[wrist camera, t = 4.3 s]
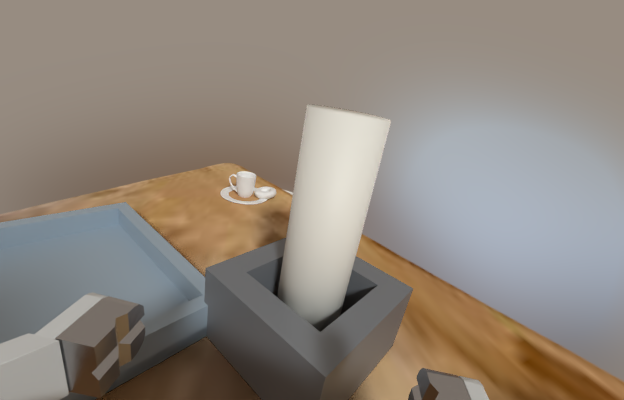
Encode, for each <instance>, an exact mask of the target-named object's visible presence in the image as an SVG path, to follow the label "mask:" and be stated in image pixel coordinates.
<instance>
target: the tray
mask: <svg viewBox="0 0 624 400" xmlns="http://www.w3.org/2000/svg"><path fill="white" fill-rule="evenodd" d="M92 292H93V293H97V294H101V295H105V296H110V297H114V298H118V299H121V300H125V301H129V302H133V303H137V304H140V305H143V306H144V314H145V315H144V316H143V317H142V318H141V319H140V320H141V322H142V323H143V324H144V326H145V337H144V341H143V343H142V345H141V347H140V349H139V351H138V353H137V354H136V355H135V357H134V358H133V359H132V361H130V362H128V363H126V364H124V365H123V366H121V367H120V376H119V377H118V378H117V379H116V381H115V382H114V383H113V384H112V386H111V387H110V388H109V389H108V391H107V392H109V391H111V390H112V389H114V388H116V387H118V386H120V385H121V384H123V383H125V382H127V381H128V380H130V379H132V378H134V377H135V376H137V375H139V374H141V373H142V372H144V371H146V370H148V369H149V368H151V367H153V366H155V365H156V364H158V363H160V362H162V361H164V360H165V359H167V358H169V357H171V356H172V355H174V354H176V353H178V352H179V351H181V350H183V349H185V348H186V347H188V346H190V345H192V344H193V343H195V342H197V341H199V340H201V339H202V338H204V337H206V335H207V315H208V305H207V304H206V303H205V302H204V297H205V277H204V276H203V275H202V274H201V273H200V272H199V271H198V270H197V269H196V268H195V267H193V266H192V265H191V264H190V263H189V262H188V261H187V260H186V259H185V258H184V257H183V256H182V255H181V254H180V253H179V252H178V251H177V250H176V249H174V248H173V247H172V246H171V245H170V244H169V243H168V242H167V241H166V240H165V239H164V238H163V237H162V236H161V235H160V234H159V233H158V232H157V231H155V230H154V229H153V228H152V227H151V226H150V225H149V224H148V223H147V222H146V221H145V220H144V219H143V218H142V217H141V216H140V215H139V214H138V213H136V212H135V211H134V210H133V209H132V208H131V207H130V206H129V205H128V204H127V203H126V202H124V203H118V204H112V205H106V206H100V207H93V208H87V209H81V210H75V211H69V212H63V213H57V214H50V215H44V216H38V217H32V218H26V219H20V220H14V221H7V222H1V223H0V344H1V343H3V342H6V341H9V340H12V339H14V338H17V337H20V336H22V335H25V334H28V333H30V334H35V333H37V332H38V331H39V330H40V329H42V328H43V327H44V326H46V325H47V324H48V323H49V322H51V321H52V320H53V319H55V318H56V317H57V316H58V315H60V314H61V313H62V312H64V311H65V310H66V309H67V308H69V307H70V306H71V305H73V304H74V303H75V302H77V301H78V300H79V299H80V298H82V297H83V296H84V295H86V294H89V293H92ZM107 392H106V393H107ZM95 399H97V397H92V396H87V395H82V394H78V393H73V392H69V394H68V395H67V396H65V397H64V398H62V399H60V400H95Z"/></svg>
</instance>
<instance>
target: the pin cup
mask: <svg viewBox="0 0 624 400" xmlns="http://www.w3.org/2000/svg"><path fill="white" fill-rule="evenodd" d="M285 243H286V238H284V239H281V240H279V241H276V242H273V243H271V244H268V245H265V246H263V247H260V248H258V249H255V250H252V251H250V252H247V253H244V254H242V255H239V256H236V257H234V258H231V259H229V260H226V261H223V262H221V263H218V264H215V265H213V266H210V267H208V268H206V274H205V297H204V302H205V303H206V304H207V305H208V315H207V335H206V336H207V337H208V339H209V340H210V341H211V342H212V343H213V344H214V345H215V347H216V348H217V349H218V350H219V351H220V352H221V353H222V355H223V356H224V357H225V358H226V359H227V360H228V362H229V363H230V364H231V365H232V366H233V367H234V368H235V370H236V371H237V372H238V373H239V374H240V375H241V376H242V378H243V379H244V380H245V381H246V382H247V383H248V385H249V386H250V387H251V388H252V389H253V390H254V391H255V393H256V394H257V395H258V396H259V397H260V398H261V399H262V400H348V399H349V398H350V397H351V396H352V394H353V393H354V392H355V391H356V390H357V388H358V387H359V386H360V385H361V384H362V382H363V381H364V380H365V379H366V377H367V376H368V375H369V374H370V373H371V371H372V370H373V369H374V368H375V366H376V365H377V364H378V363H379V362H380V360H381V359H382V358H383V357H384V355H385V354H386V353H387V352H388V351H389V349H390V348H391V347H392V346H393V343H394V340H395V337H396V335H397V332H398V329H399V326H400V324H401V321H402V318H403V315H404V313H405V310H406V307H407V304H408V302H409V299H410V296H411V293H412V291H413V288H411V287H409V286H408V285H406V284H404V283H402V282H401V281H399V280H397V279H395V278H394V277H392V276H390V275H388V274H386V273H385V272H383V271H381V270H379V269H378V268H376V267H374V266H372V265H371V264H369V263H367V262H365V261H364V260H362V259H360V258H358V257H355V261H354V264H353V268H352V272H351V276H350V280H349V284H348V287H347V291H346V295H345V299H344V303H343V306H342V310H341V314H340V317H338V318H337V319H336V320H335V321H333V322H332V323H331V324H330V325H328V326H327V327H326V328H325V329H324V330H322V331H321V332H320V331H318V330H317V329H316V328H315V327H313V326H312V325H311V324H310V323H308V322H307V321H306V320H305V319H304V318H302V317H301V316H300V315H299V314H297V313H296V312H295V311H294V310H292V309H291V308H290V307H289V306H287V305H286V304H285V303H284V302H283V301H281V300H280V299H279V298H278V297H277V294H278V287H279V281H280V275H281V268H282V262H283V256H284V249H285Z"/></svg>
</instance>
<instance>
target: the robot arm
mask: <svg viewBox="0 0 624 400" xmlns="http://www.w3.org/2000/svg"><path fill="white" fill-rule="evenodd" d="M144 315H145V314H144V306H143V305H140V304H137V303H133V302H129V301H125V300H121V299H118V298H114V297H110V296H105V295H101V294H97V293H93V292H92V293H89V294H86V295H84V296H83V297H82V298H80V299H79V300H78V301H77V302H75V303H74V304H73V305H71V306H70V307H69V308H67V309H66V310H65V311H64V312H62V313H61V314H60V315H58V316H57V317H56V318H55V319H53V320H52V321H51V322H49V323H48V324H47V325H46V326H44V327H43V328H42V329H40V330H39V331H38V332H37V333H35V334H30V333H28V334H25V335H22V336H20V337H17V338H14V339H12V340H9V341H6V342H3V343H1V344H0V400H60V399H62V398H64V397H65V396H67V395H68V394H69V392H73V393H78V394H82V395H87V396H92V397H97V398H102V397H103V396H104V394H105V393H106V392H107V391H108V389H109V388H110V387H111V386H112V384H113V383H114V382H115V381H116V379H117V378H118V377H119V376H120V367H121V366H123V365H124V364H126V363H128V362H130V361H132V359H133V358H134V357H135V355H136V354H137V353H138V351H139V349H140V347H141V345H142V343H143V341H144V337H145V326H144V324H143V323H142V322H141V320H140V319H141V318H142V317H143V316H144ZM417 381H418V385H417V386H415V387H413V388H412V389H411V392H410V394H409V398H408V400H489V398H488V396H487V394H486V392H485V390H484V388H483V385H482V384H481V383H480V382H479V381H478V380H475V379H470V378H466V377H461V376H457V375H453V374H448V373H444V372H439V371H434V370H430V369H425V368H422V369H421V370H420V371H419V373H418V375H417Z"/></svg>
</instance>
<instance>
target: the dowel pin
mask: <svg viewBox="0 0 624 400" xmlns="http://www.w3.org/2000/svg"><path fill="white" fill-rule="evenodd" d="M390 123H391V120H389V119H386V118H383V117H379V116H375V115H371V114H366V113H362V112H357V111H352V110H347V109H341V108H335V107H328V106H321V105H307V108H306V115H305V122H304V128H303V134H302V140H301V147H300V153H299V160H298V166H297V172H296V179H295V185H294V192H293V198H292V204H291V211H290V217H289V224H288V230H287V236H286V243H285V249H284V256H283V262H282V268H281V275H280V281H279V287H278V294H277V297H278V298H279V299H280V300H281V301H283V302H284V303H285V304H286V305H287V306H289V307H290V308H291V309H292V310H294V311H295V312H296V313H297V314H299V315H300V316H301V317H302V318H304V319H305V320H306V321H307V322H308V323H310V324H311V325H312V326H313V327H315V328H316V329H317V330H318V331H320V332H321V331H322V330H324V329H325V328H326V327H327V326H328V325H330V324H331V323H332V322H333V321H335V320H336V319H337V318H338V317H340V314H341V310H342V306H343V303H344V299H345V295H346V291H347V287H348V284H349V280H350V276H351V272H352V268H353V264H354V261H355V257H356V253H357V249H358V245H359V242H360V238H361V234H362V230H363V226H364V223H365V219H366V215H367V211H368V207H369V203H370V200H371V196H372V191H373V188H374V184H375V181H376V177H377V173H378V169H379V165H380V162H381V157H382V154H383V150H384V146H385V142H386V139H387V134H388V131H389V127H390Z"/></svg>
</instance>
